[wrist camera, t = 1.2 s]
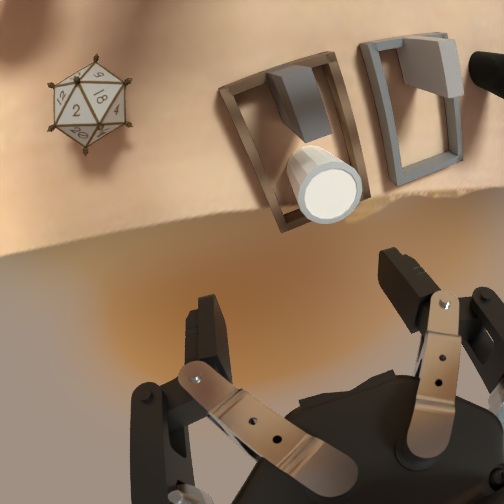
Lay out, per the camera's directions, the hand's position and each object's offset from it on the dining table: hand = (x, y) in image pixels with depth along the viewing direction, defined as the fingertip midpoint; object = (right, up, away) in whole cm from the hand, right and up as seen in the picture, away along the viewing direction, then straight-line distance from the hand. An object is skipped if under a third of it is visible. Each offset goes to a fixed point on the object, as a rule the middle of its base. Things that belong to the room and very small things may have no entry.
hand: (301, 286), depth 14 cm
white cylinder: (+4, +11, +20) cm, 24 cm away
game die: (-18, +17, +12) cm, 27 cm away
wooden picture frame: (+3, +14, +18) cm, 23 cm away
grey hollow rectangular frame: (+18, +20, +16) cm, 31 cm away
